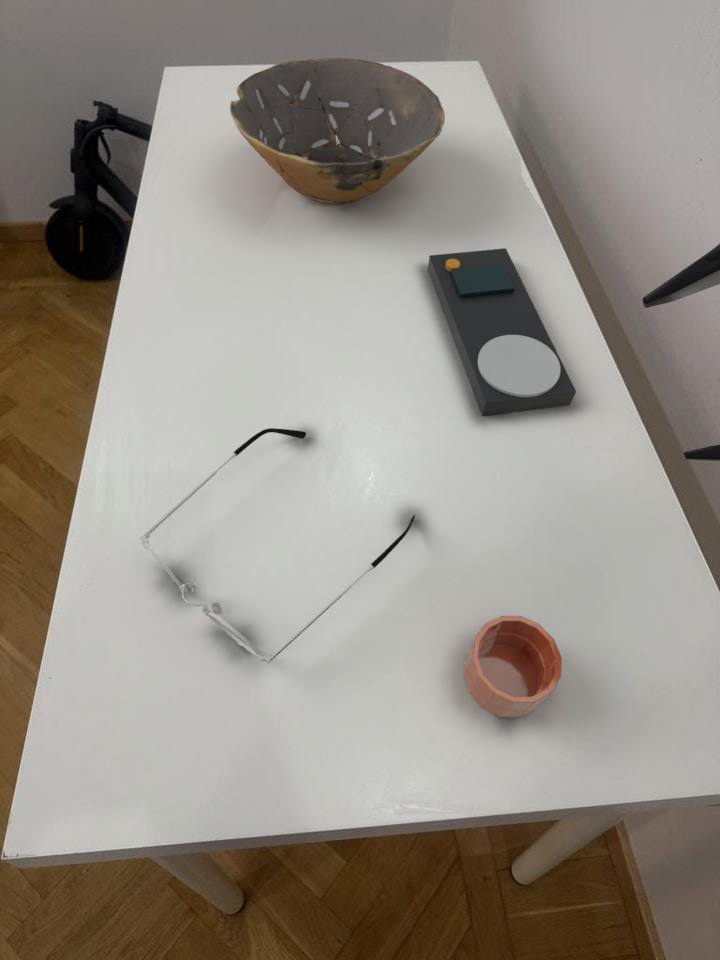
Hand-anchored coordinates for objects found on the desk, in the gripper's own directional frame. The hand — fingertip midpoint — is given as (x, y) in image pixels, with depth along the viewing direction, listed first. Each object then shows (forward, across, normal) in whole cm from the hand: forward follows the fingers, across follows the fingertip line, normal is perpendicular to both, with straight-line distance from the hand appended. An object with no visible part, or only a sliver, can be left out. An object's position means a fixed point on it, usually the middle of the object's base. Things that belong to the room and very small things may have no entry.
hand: (663, 378), depth 37 cm
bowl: (+30, -40, +32) cm, 60 cm away
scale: (+14, -14, +26) cm, 33 cm away
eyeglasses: (+30, +4, +4) cm, 31 cm away
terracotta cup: (+15, +17, +7) cm, 24 cm away
